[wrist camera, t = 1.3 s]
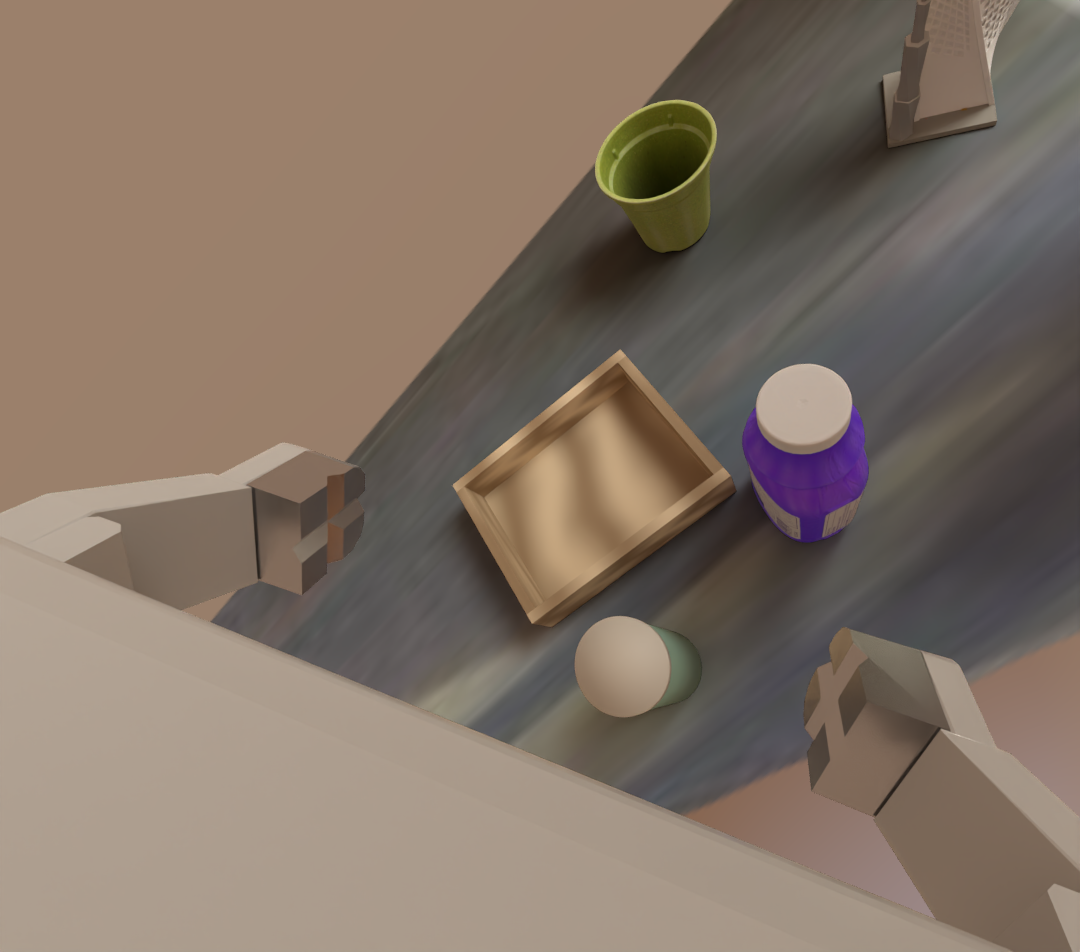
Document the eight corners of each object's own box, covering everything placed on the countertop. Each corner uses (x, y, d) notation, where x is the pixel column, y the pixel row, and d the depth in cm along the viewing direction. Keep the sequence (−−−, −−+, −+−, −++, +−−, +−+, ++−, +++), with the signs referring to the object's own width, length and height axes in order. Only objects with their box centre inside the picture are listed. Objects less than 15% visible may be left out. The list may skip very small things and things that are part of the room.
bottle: (872, 522, 40) (914, 431, 25) (794, 561, 41) (787, 497, 26) (811, 436, 43) (814, 309, 28) (739, 475, 44) (705, 373, 29)
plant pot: (603, 236, 56) (572, 168, 48) (679, 163, 55) (659, 81, 47) (669, 289, 51) (646, 223, 44) (753, 211, 50) (744, 129, 43)
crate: (633, 371, 50) (620, 349, 47) (736, 491, 44) (730, 475, 41) (475, 497, 53) (452, 485, 49) (552, 627, 47) (532, 623, 43)
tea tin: (673, 614, 43) (631, 597, 33) (718, 678, 41) (688, 681, 30) (617, 655, 44) (558, 650, 34) (658, 719, 42) (608, 737, 31)
